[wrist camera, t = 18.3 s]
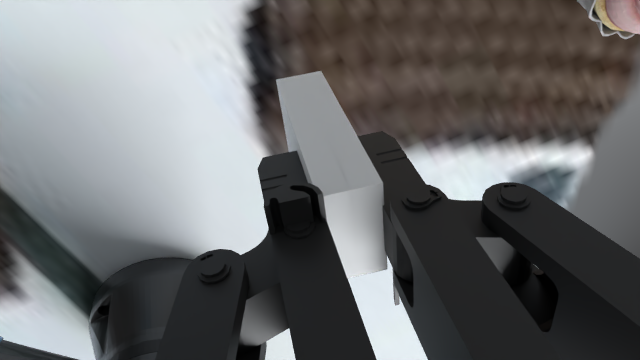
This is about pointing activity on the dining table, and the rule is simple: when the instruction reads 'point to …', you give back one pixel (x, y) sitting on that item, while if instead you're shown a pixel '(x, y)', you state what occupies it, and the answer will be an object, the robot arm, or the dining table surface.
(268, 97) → the dining table surface
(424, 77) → the dining table surface
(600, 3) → the cupcake
